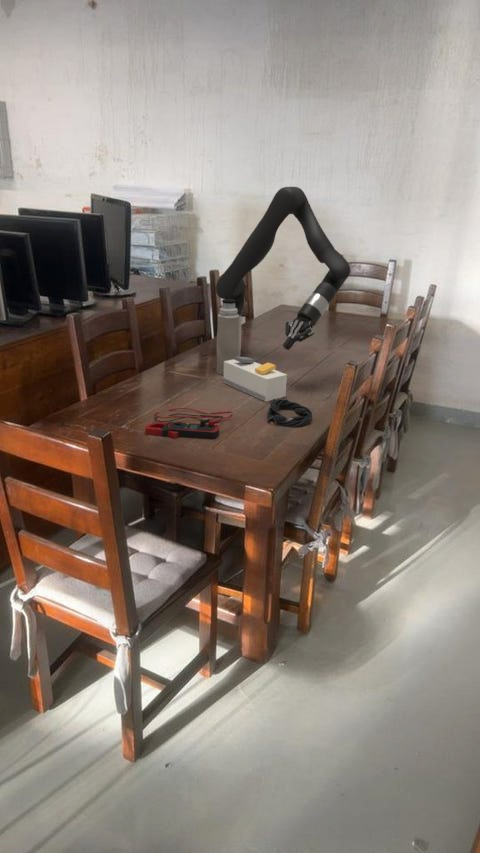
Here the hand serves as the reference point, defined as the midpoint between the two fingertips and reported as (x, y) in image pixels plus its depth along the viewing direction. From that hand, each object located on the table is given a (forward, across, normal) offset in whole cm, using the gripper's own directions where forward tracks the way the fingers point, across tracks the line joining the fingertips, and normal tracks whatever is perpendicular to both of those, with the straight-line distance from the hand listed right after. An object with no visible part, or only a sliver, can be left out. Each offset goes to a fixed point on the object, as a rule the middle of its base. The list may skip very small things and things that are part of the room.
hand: (285, 348), depth 205 cm
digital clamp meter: (+43, +7, -20) cm, 48 cm away
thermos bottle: (+14, -27, +8) cm, 31 cm away
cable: (+22, +20, 0) cm, 30 cm away
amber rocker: (+11, 0, -2) cm, 11 cm away
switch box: (+17, -6, +5) cm, 19 cm away
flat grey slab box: (+11, -12, -2) cm, 16 cm away
